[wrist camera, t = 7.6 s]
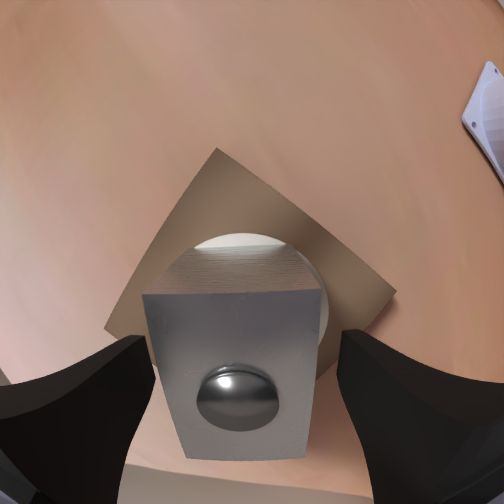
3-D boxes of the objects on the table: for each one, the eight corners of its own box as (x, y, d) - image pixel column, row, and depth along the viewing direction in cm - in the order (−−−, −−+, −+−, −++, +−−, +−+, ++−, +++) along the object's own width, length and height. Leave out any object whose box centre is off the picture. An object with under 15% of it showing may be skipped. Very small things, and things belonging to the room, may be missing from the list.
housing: (290, 375, 14) (306, 463, 8) (205, 378, 14) (185, 463, 8) (291, 243, 12) (324, 292, 6) (188, 248, 12) (137, 298, 6)
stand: (381, 279, 15) (398, 292, 13) (263, 404, 17) (264, 427, 15) (221, 153, 13) (216, 146, 11) (118, 313, 15) (102, 330, 13)
